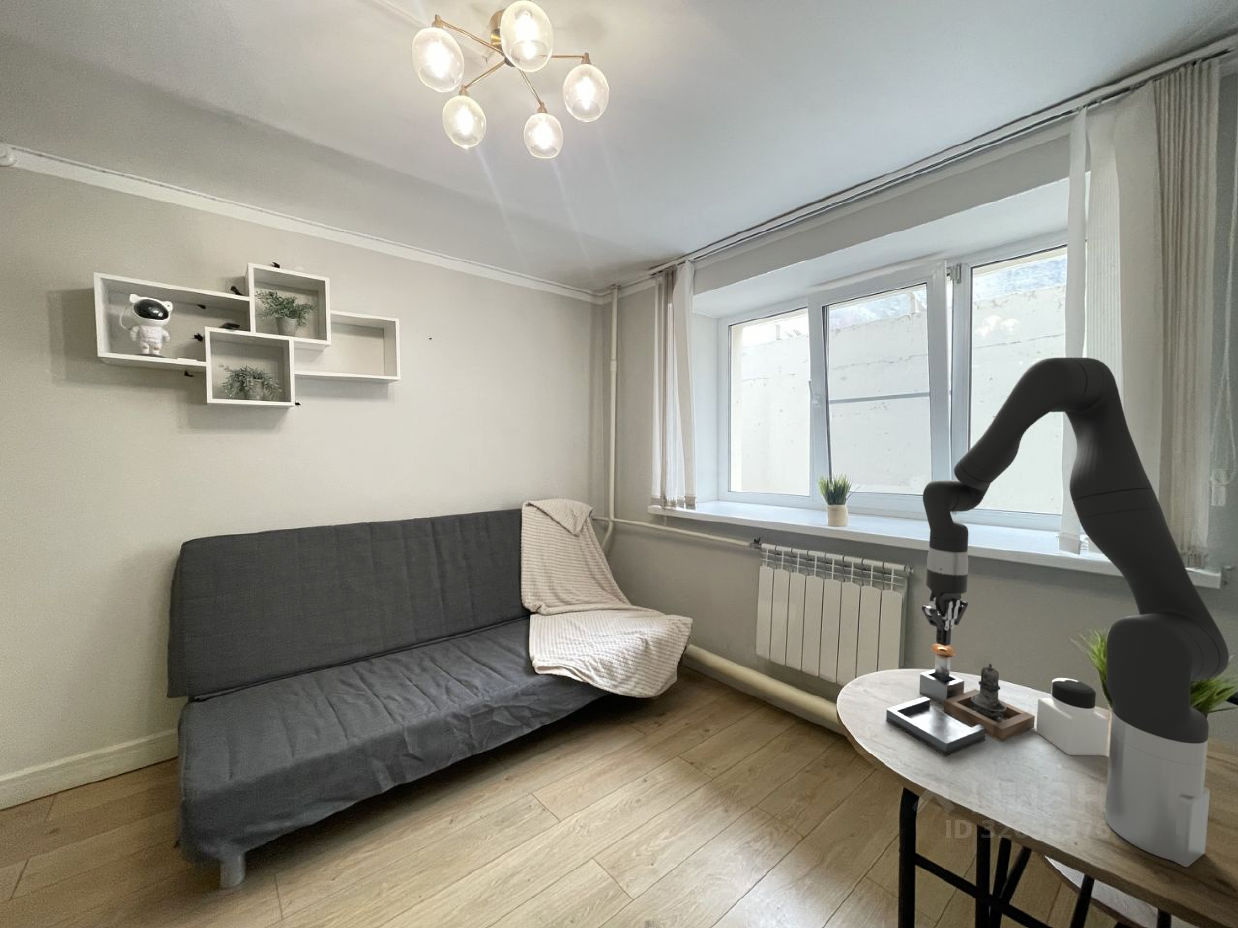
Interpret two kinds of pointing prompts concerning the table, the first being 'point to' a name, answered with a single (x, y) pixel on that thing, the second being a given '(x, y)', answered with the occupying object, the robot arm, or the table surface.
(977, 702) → the dark grey chess piece
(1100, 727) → the medicine bottle
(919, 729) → the tray
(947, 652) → the copper mushroom knob
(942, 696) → the housing
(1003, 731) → the socket collar
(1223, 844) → the table surface
